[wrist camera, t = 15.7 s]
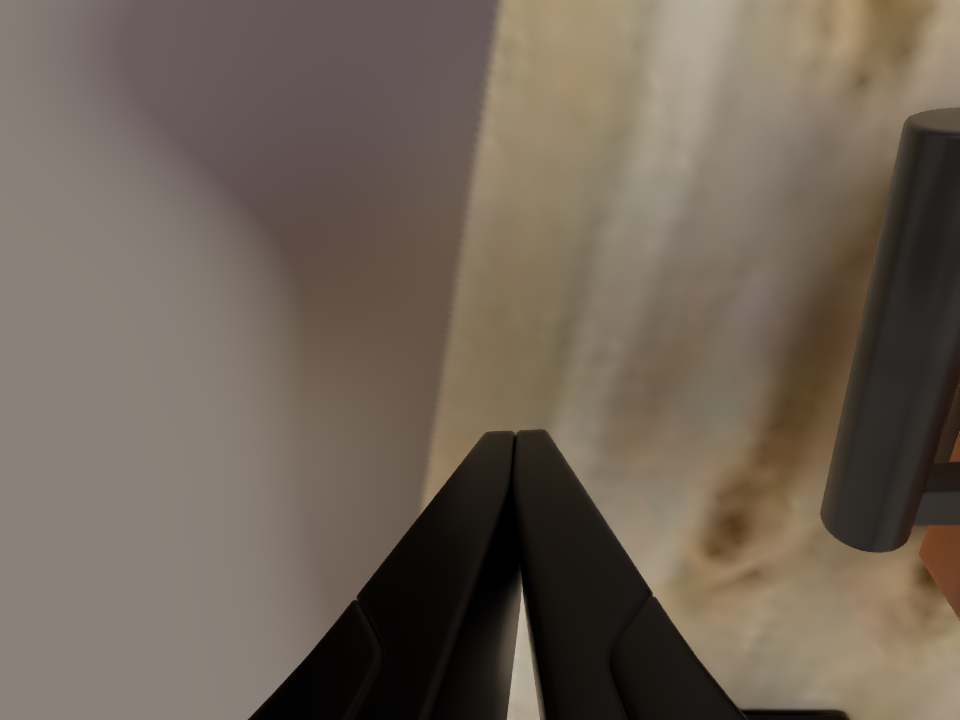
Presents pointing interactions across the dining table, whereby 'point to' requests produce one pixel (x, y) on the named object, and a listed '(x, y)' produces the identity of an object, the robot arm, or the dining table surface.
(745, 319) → the dining table surface
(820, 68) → the dining table surface
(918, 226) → the drawer
